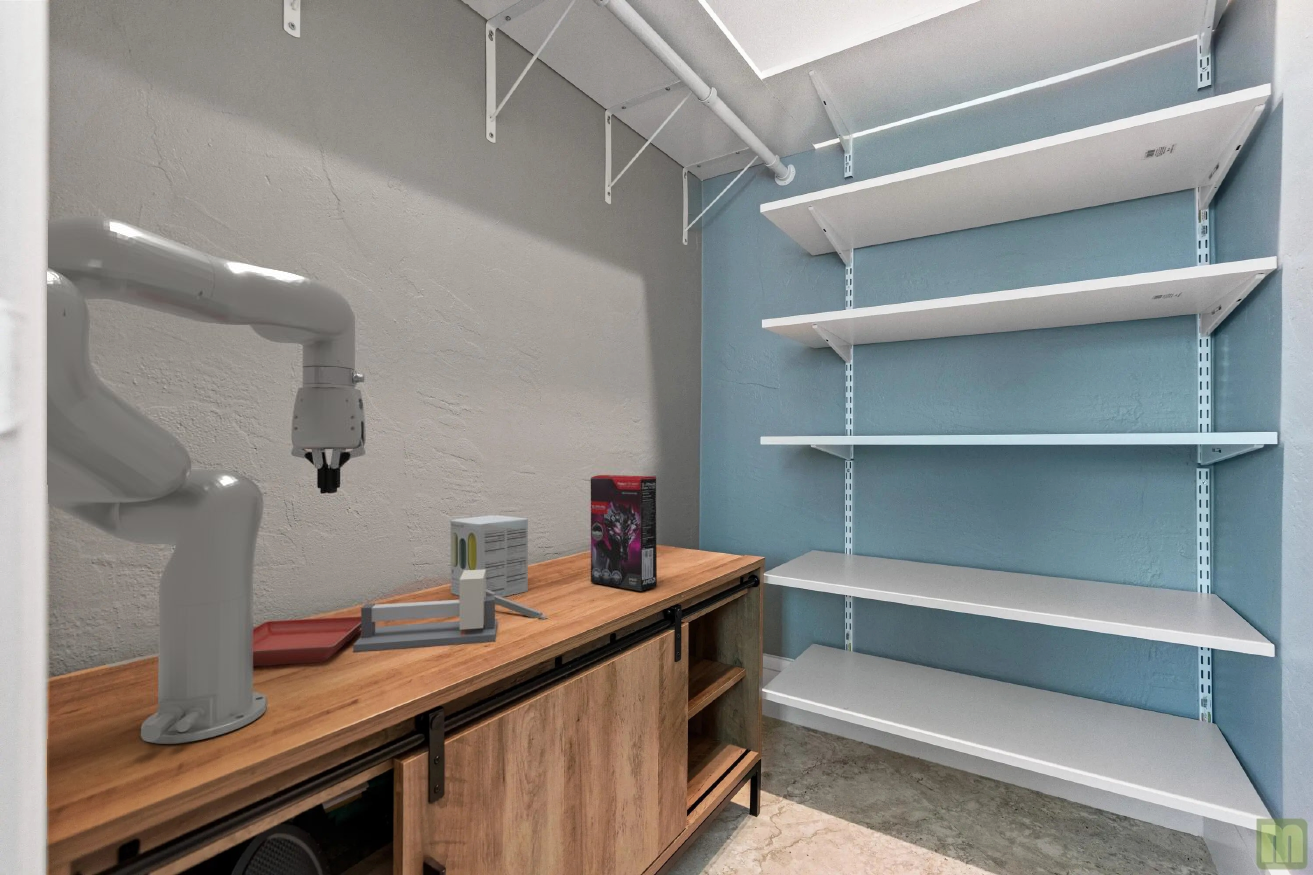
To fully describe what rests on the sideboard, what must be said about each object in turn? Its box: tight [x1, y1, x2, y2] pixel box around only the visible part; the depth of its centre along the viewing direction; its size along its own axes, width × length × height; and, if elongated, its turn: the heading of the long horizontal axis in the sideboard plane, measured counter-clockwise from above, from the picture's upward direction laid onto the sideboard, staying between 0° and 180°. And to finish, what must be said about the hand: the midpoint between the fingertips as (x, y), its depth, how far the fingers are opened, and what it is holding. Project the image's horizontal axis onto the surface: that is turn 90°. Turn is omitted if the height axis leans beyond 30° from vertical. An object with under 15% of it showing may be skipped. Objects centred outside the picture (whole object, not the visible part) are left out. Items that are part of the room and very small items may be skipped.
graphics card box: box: [590, 474, 658, 592], centre depth 146 cm, size 17×7×27 cm, turn 53°
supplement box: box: [449, 514, 529, 598], centre depth 140 cm, size 13×13×18 cm
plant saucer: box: [253, 615, 361, 667], centre depth 101 cm, size 18×18×3 cm
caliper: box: [486, 589, 548, 620], centre depth 122 cm, size 20×1×6 cm, turn 65°
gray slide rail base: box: [353, 596, 498, 653], centre depth 107 cm, size 10×23×6 cm, turn 103°
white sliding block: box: [459, 569, 486, 630], centre depth 108 cm, size 8×4×9 cm, turn 13°
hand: (328, 492), depth 96 cm, fingers closed
